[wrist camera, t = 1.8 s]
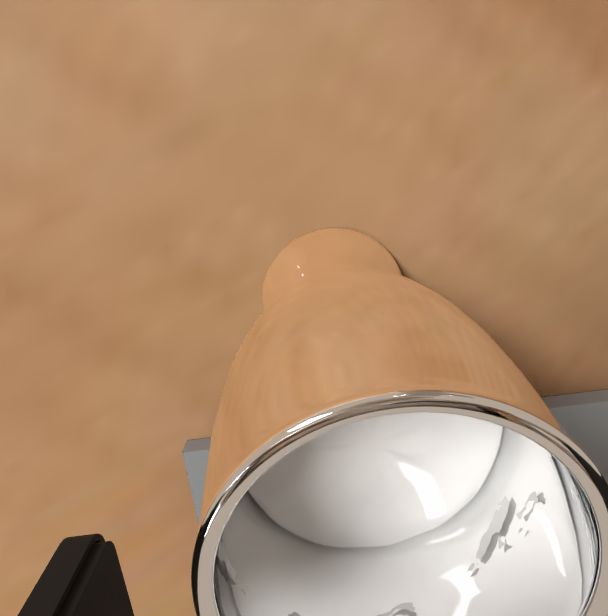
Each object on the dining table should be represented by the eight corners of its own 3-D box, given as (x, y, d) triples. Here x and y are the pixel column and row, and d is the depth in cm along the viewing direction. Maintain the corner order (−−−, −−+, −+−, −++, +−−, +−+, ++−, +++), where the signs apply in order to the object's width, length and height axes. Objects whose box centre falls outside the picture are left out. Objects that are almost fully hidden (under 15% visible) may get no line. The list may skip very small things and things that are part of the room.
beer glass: (431, 231, 21) (718, 417, 7) (394, 382, 23) (555, 764, 9) (263, 203, 21) (200, 341, 6) (241, 360, 23) (156, 727, 9)
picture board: (186, 440, 24) (172, 480, 21) (660, 382, 24) (711, 416, 21) (241, 685, 29) (236, 745, 26) (634, 641, 29) (672, 697, 26)
